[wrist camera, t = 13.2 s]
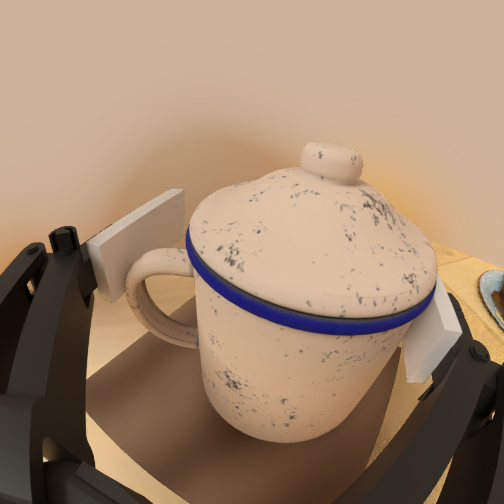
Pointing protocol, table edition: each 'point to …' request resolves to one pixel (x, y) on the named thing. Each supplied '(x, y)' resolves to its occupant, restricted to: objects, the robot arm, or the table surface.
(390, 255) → the teacup with lid
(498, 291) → the food on plate
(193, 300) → the walnut footstool
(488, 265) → the table surface
